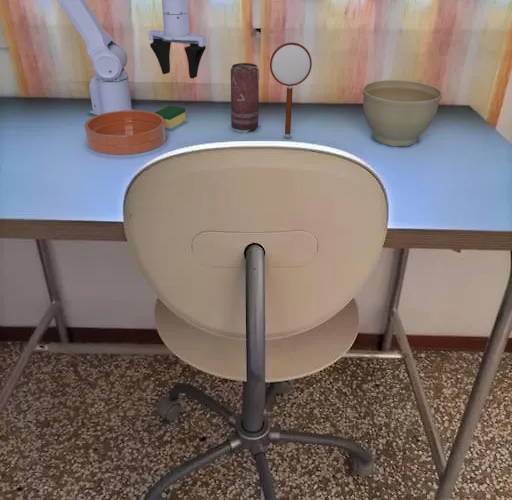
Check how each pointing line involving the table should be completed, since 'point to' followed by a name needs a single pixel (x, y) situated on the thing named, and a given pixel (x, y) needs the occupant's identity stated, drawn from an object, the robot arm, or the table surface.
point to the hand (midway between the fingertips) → (179, 75)
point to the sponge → (172, 115)
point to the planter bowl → (399, 110)
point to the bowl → (125, 132)
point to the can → (244, 96)
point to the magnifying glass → (290, 71)
